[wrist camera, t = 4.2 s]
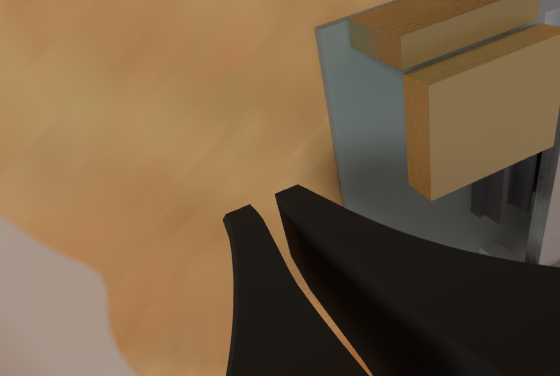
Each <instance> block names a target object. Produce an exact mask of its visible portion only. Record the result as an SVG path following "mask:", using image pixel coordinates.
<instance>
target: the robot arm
mask: <svg viewBox="0 0 560 376" xmlns="http://www.w3.org/2000/svg"><path fill="white" fill-rule="evenodd" d="M275 197H276V201H277V205H278V208H279V212H280V216H281V220H282V224H283V227H284V231H285V235H286V239H287V242H288V246H289V250H290V254H291V257H292V259H293V260H294V262H295V264H296V266H297V268H298V269H299V271H300V273H301V275H302V276H303V278H304V280H305V282H306V283H307V285H308V287H309V288H310V290H311V291H312V293H313V294H314V295H315V297H316V298H317V300H318V301H319V302H320V304H321V305H322V306H323V308H324V309H325V310H326V312H327V313H328V314H329V316H330V317H331V318H332V320H333V321H334V322H335V324H336V325H337V326H338V328H339V329H340V330H341V332H342V333H343V334H344V336H345V337H346V338H347V340H348V341H349V342H350V344H351V345H352V346H353V348H354V349H355V350H356V352H357V353H358V355H359V356H360V357H361V359H362V360H363V361H364V363H365V364H366V366H367V367H368V369H369V370H370V372H371V373H372V375H373V376H560V267H554V266H547V265H540V264H533V263H526V262H520V261H515V260H509V259H503V258H498V257H493V256H489V255H484V254H479V253H475V252H470V251H466V250H462V249H458V248H454V247H450V246H446V245H443V244H439V243H436V242H433V241H429V240H426V239H422V238H419V237H416V236H413V235H410V234H407V233H404V232H401V231H399V230H396V229H394V228H391V227H388V226H386V225H383V224H380V223H378V222H375V221H373V220H371V219H369V218H366V217H364V216H362V215H360V214H357V213H355V212H353V211H351V210H349V209H346V208H344V207H342V206H340V205H338V204H336V203H334V202H332V201H330V200H328V199H326V198H324V197H322V196H320V195H318V194H316V193H314V192H312V191H310V190H308V189H306V188H304V187H302V186H300V185H298V184H297V185H295V186H293V187H290V188H288V189H285V190H283V191H281V192H278V193H276V194H275ZM223 222H224V225H225V228H226V230H227V233H228V236H229V240H230V245H231V252H232V264H233V279H234V291H233V323H232V335H231V345H230V353H229V360H228V366H227V373H226V376H369V375H368V374H367V373H366V371H365V370H364V369H363V368H362V367H361V365H360V364H359V363H358V362H357V361H356V359H355V358H354V357H353V356H352V355H351V353H350V352H349V351H348V350H347V349H346V347H345V346H344V345H343V344H342V343H341V341H340V340H339V339H338V338H337V336H336V335H335V334H334V332H333V331H332V330H331V329H330V327H329V326H328V325H327V323H326V322H325V321H324V320H323V318H322V317H321V316H320V314H319V313H318V312H317V311H316V309H315V308H314V306H313V305H312V304H311V302H310V301H309V300H308V298H307V297H306V296H305V294H304V293H303V291H302V290H301V289H300V287H299V286H298V284H297V283H296V281H295V279H294V278H293V276H292V274H291V273H290V271H289V269H288V267H287V265H286V263H285V261H284V259H283V257H282V255H281V253H280V251H279V249H278V247H277V245H276V243H275V242H274V240H273V238H272V236H271V234H270V232H269V230H268V228H267V226H266V224H265V222H264V220H263V218H262V217H261V216H260V215H259V213H258V212H257V211H256V210H255V209H254V208H253V207H252V206H251V205H250V204H249V205H247V206H244V207H242V208H240V209H237V210H235V211H232V212H230V213H228V214H226V215H225V217H224V219H223Z"/></svg>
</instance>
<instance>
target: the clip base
mask: <svg viewBox="0 0 560 376" xmlns="http://www.w3.org/2000/svg"><path fill="white" fill-rule="evenodd" d="M397 1H400V0H395V1H392V2H389V3H386V4H383V5H380V6H377V7H374V8H371V9H368V10H366V11H363V12H360V13H357V14H354V15H351V16H348V17H345V18H342V19H339V20H336V21H333V22H330V23H327V24H324V25H321V26H318V27H315V33H316V39H317V45H318V51H319V57H320V63H321V70H322V76H323V82H324V88H325V94H326V101H327V107H328V113H329V119H330V125H331V132H332V138H333V144H334V150H335V156H336V162H337V169H338V175H339V181H340V187H341V193H342V200H343V206H344V208H346V209H349V210H351V211H353V212H355V213H357V214H360V215H362V216H364V217H366V218H369V219H371V220H373V221H375V222H378V223H380V224H383V225H386V226H388V227H391V228H394V229H396V230H399V231H401V232H404V233H407V234H410V235H413V236H416V237H419V238H422V239H426V240H429V241H433V242H436V243H439V244H443V245H446V246H450V247H454V248H458V249H462V250H466V251H470V252H475V253H479V254H484V255H489V256H493V257H498V258H503V259H509V260H515V261H520V262H525V255H526V248H527V242H528V236H529V230H530V224H531V218H532V212H533V206H534V200H535V193H536V187H537V181H538V175H539V169H540V163H541V157H542V151H541V152H539V153H537V154H535V155H533V156H530V157H528V158H526V159H524V160H521V161H519V162H517V163H515V164H513V165H510V166H508V167H506V168H504V169H502V170H499V171H497V172H495V173H493V174H491V175H488V176H486V177H484V178H482V179H479V180H477V181H475V182H473V183H471V184H468V185H466V186H464V187H462V188H460V189H457V190H455V191H453V192H451V193H449V194H446V195H444V196H442V197H440V198H437V199H435V200H433V201H430V200H429V199H427V198H426V197H425V196H424V195H422V194H421V193H420V192H418V191H417V190H416V189H414V188H413V187H412V186H411V185H409V180H408V162H407V144H406V126H405V108H404V90H403V73H406V72H408V71H411V70H414V69H416V68H419V67H422V66H424V65H427V64H430V63H432V62H435V61H438V60H440V59H443V58H445V57H448V56H451V55H453V54H456V53H459V52H461V51H464V50H467V49H469V48H472V47H474V46H477V45H480V44H482V43H485V42H488V41H490V40H493V39H496V38H498V37H501V36H504V35H506V34H509V33H511V32H514V31H517V30H519V29H522V28H525V27H527V26H530V25H533V24H535V23H543V24H548V25H552V26H557V27H560V0H540V9H539V18H538V20H535V21H532V22H530V23H527V24H524V25H522V26H519V27H516V28H514V29H511V30H508V31H506V32H503V33H501V34H498V35H495V36H493V37H490V38H487V39H485V40H482V41H479V42H477V43H474V44H471V45H469V46H466V47H463V48H461V49H458V50H455V51H453V52H450V53H447V54H445V55H442V56H440V57H437V58H434V59H432V60H429V61H426V62H424V63H421V64H418V65H416V66H413V67H410V68H408V69H405V70H400V69H398V68H396V67H393V66H391V65H389V64H387V63H384V62H382V61H380V60H378V59H375V58H373V57H371V56H369V55H366V54H364V53H362V52H359V51H357V50H355V49H353V48H351V43H350V34H349V26H348V18H350V17H353V16H356V15H359V14H362V13H365V12H368V11H371V10H374V9H377V8H380V7H383V6H386V5H388V4H391V3H394V2H397Z"/></svg>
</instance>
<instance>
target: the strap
mask: <svg viewBox="0 0 560 376" xmlns="http://www.w3.org/2000/svg"><path fill="white" fill-rule="evenodd" d="M525 262H526V263H533V264H540V265H547V266H554V267H560V108H559V114H558V120H557V127H556V133H555V139H554V146H552V147H550V148H548V149H546V150H544V151H542V157H541V163H540V169H539V175H538V181H537V187H536V193H535V200H534V206H533V212H532V218H531V224H530V230H529V236H528V242H527V248H526V255H525Z"/></svg>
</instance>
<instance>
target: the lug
mask: <svg viewBox="0 0 560 376" xmlns="http://www.w3.org/2000/svg"><path fill="white" fill-rule="evenodd" d="M539 9H540V0H400V1H397V2H394V3H391V4H388V5H386V6H383V7H380V8H377V9H374V10H371V11H368V12H365V13H362V14H359V15H356V16H353V17H350V18H348V26H349V34H350V43H351V48H353V49H355V50H357V51H359V52H362V53H364V54H366V55H369V56H371V57H373V58H375V59H378V60H380V61H382V62H384V63H387V64H389V65H391V66H393V67H396V68H398V69H400V70H405V69H408V68H410V67H413V66H416V65H418V64H421V63H424V62H426V61H429V60H432V59H434V58H437V57H440V56H442V55H445V54H447V53H450V52H453V51H455V50H458V49H461V48H463V47H466V46H469V45H471V44H474V43H477V42H479V41H482V40H485V39H487V38H490V37H493V36H495V35H498V34H501V33H503V32H506V31H508V30H511V29H514V28H516V27H519V26H522V25H524V24H527V23H530V22H532V21H535V20H538V18H539ZM403 90H404V108H405V126H406V144H407V162H408V180H409V185H411V186H412V187H413V188H414V189H416V190H417V191H418V192H420V193H421V194H422V195H424V196H425V197H426V198H427V199H429V200H430V201H433V200H435V199H437V198H440V197H442V196H444V195H446V194H449V193H451V192H453V191H455V190H457V189H460V188H462V187H464V186H466V185H468V184H471V183H473V182H475V181H477V180H479V179H482V178H484V177H486V176H488V175H491V174H493V173H495V172H497V171H499V170H502V169H504V168H506V167H508V166H510V165H513V164H515V163H517V162H519V161H521V160H524V159H526V158H528V157H530V156H533V155H535V154H537V153H539V152H541V151H544V150H546V149H548V148H550V147H552V146H554V139H555V133H556V127H557V120H558V114H559V108H560V27H557V26H552V25H548V24H543V23H535V24H533V25H530V26H527V27H525V28H522V29H519V30H517V31H514V32H511V33H509V34H506V35H504V36H501V37H498V38H496V39H493V40H490V41H488V42H485V43H482V44H480V45H477V46H474V47H472V48H469V49H467V50H464V51H461V52H459V53H456V54H453V55H451V56H448V57H445V58H443V59H440V60H438V61H435V62H432V63H430V64H427V65H424V66H422V67H419V68H416V69H414V70H411V71H408V72H406V73H403Z"/></svg>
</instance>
